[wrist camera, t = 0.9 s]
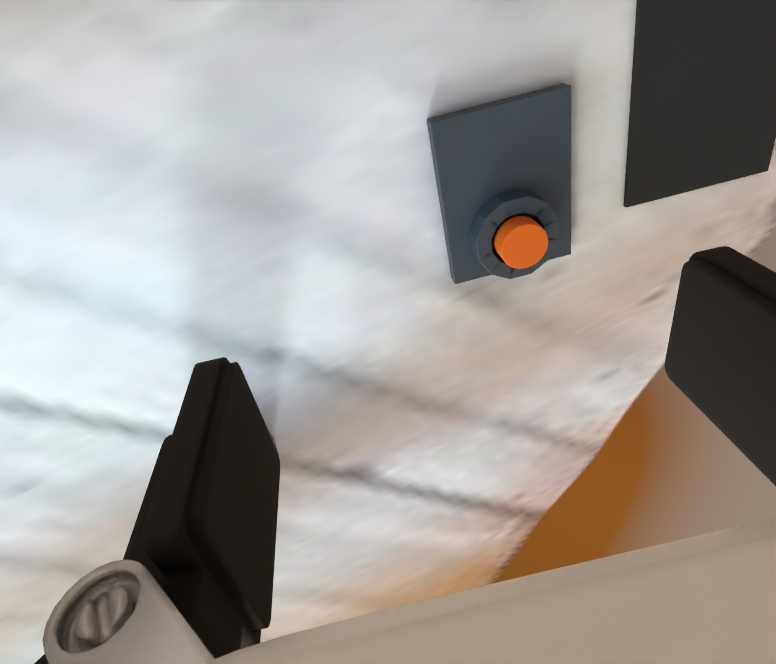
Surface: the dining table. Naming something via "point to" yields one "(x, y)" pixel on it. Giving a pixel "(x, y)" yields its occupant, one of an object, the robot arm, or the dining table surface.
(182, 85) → the dining table surface
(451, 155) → the grey button base
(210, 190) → the dining table surface
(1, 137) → the dining table surface
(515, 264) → the button
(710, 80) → the desk pad
